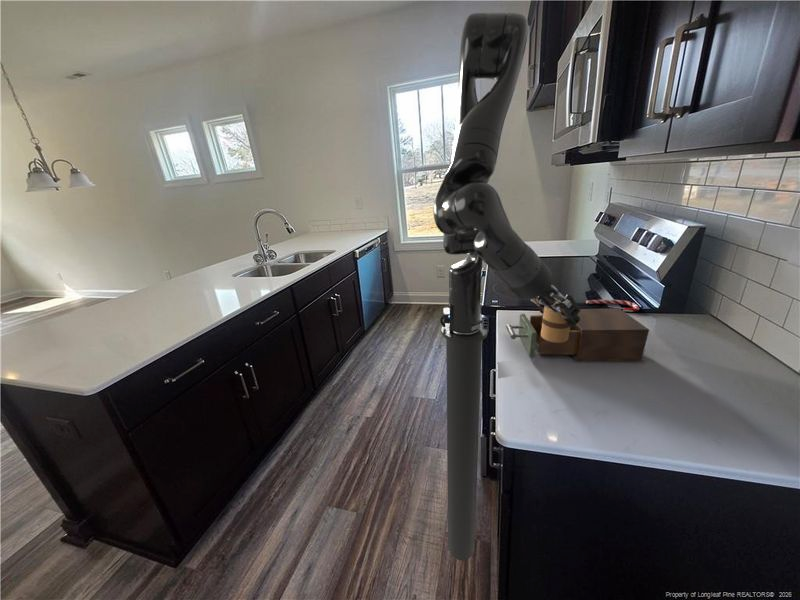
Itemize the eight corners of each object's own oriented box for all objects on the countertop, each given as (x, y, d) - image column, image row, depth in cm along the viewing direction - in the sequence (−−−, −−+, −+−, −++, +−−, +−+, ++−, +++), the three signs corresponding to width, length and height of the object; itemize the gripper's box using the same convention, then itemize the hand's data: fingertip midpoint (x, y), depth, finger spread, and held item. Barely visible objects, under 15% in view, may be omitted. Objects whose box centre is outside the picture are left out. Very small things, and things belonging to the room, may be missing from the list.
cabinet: (577, 361, 78) (582, 330, 74) (558, 337, 89) (562, 309, 86) (641, 361, 76) (649, 329, 73) (613, 336, 88) (619, 308, 84)
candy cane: (585, 297, 112) (636, 300, 106) (584, 300, 112) (635, 304, 107) (587, 305, 105) (642, 309, 99) (587, 308, 106) (641, 313, 100)
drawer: (512, 356, 80) (514, 332, 77) (502, 335, 90) (504, 313, 88) (586, 356, 78) (590, 332, 75) (568, 335, 88) (571, 312, 86)
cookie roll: (545, 342, 64) (549, 309, 61) (537, 330, 69) (541, 299, 66) (572, 343, 63) (578, 308, 61) (562, 330, 68) (567, 298, 66)
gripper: (565, 262, 51) (607, 316, 59) (508, 246, 64) (549, 292, 71) (534, 298, 51) (580, 347, 59) (484, 275, 64) (528, 317, 72)
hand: (563, 316), depth 65 cm, fingers closed on cookie roll, 5 cm apart
